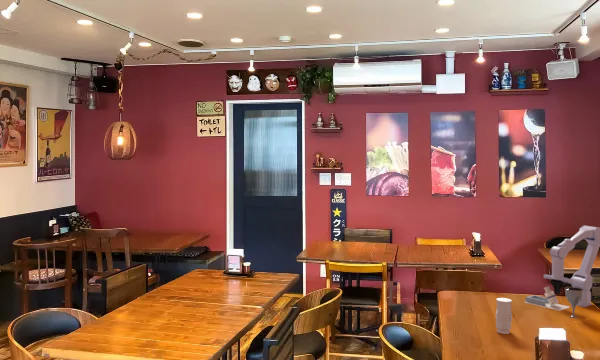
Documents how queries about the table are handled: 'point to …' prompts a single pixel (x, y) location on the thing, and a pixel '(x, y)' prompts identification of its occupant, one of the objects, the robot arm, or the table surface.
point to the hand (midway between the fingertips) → (557, 293)
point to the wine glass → (573, 297)
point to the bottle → (550, 296)
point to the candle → (503, 315)
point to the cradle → (544, 302)
